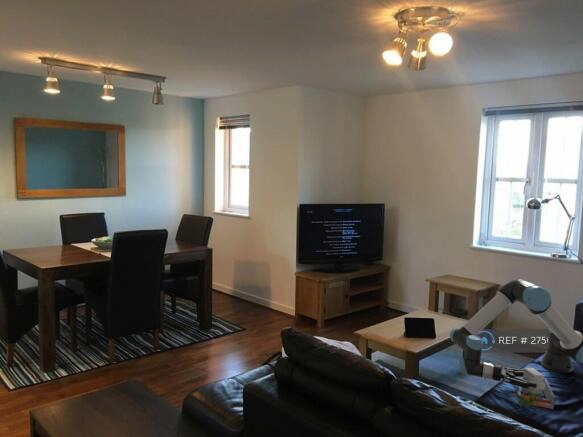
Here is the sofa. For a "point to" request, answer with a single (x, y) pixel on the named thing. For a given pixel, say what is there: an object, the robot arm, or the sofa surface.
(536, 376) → the ink box
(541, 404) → the trap channel
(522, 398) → the figurine
